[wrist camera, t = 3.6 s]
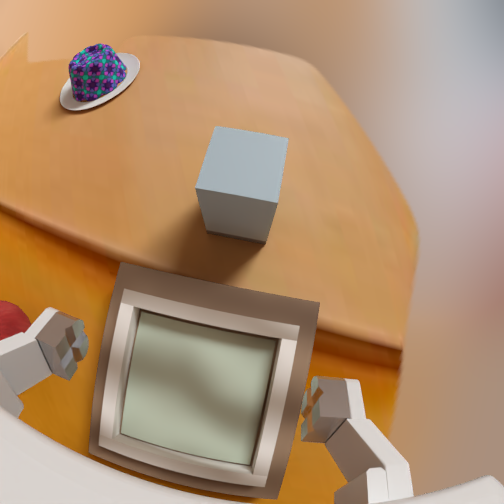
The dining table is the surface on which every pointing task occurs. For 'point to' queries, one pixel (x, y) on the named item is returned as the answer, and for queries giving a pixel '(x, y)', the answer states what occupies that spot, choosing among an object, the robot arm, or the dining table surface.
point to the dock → (201, 381)
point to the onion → (12, 320)
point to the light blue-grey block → (241, 183)
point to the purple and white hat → (97, 76)
